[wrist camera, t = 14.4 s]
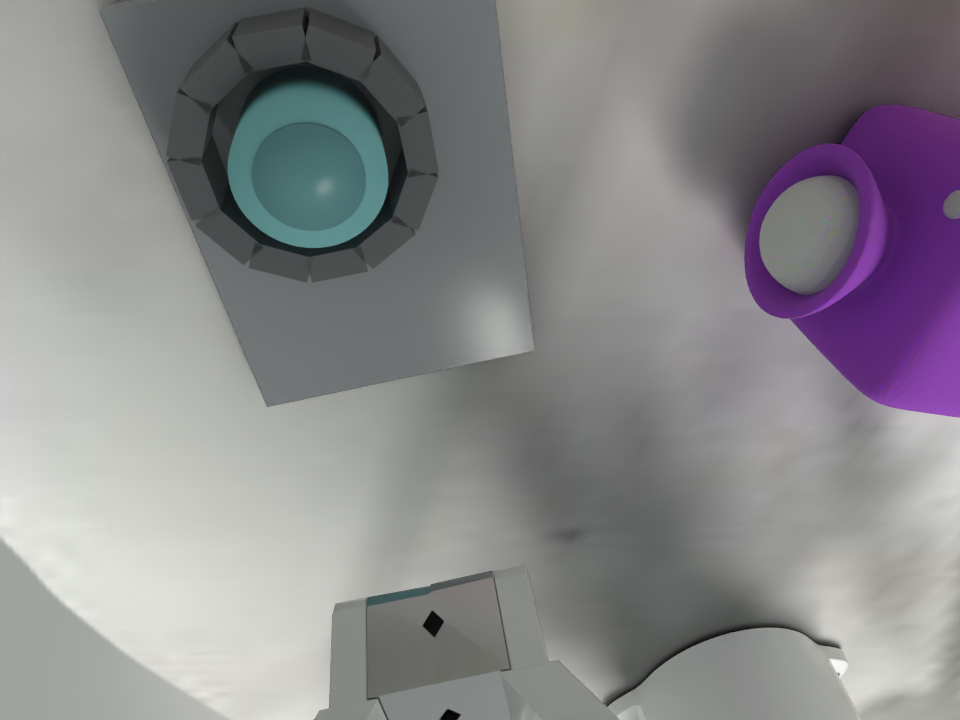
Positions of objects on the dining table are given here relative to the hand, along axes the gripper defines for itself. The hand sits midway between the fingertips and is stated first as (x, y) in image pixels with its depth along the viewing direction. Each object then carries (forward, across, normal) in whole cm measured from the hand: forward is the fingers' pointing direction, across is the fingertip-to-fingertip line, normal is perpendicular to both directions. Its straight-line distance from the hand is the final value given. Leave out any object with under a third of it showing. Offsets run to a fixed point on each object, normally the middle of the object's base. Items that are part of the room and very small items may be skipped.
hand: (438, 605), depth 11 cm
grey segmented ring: (+18, +3, -2) cm, 19 cm away
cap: (+18, +2, -2) cm, 19 cm away
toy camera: (+20, -19, +6) cm, 29 cm away
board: (+20, +2, +1) cm, 20 cm away
